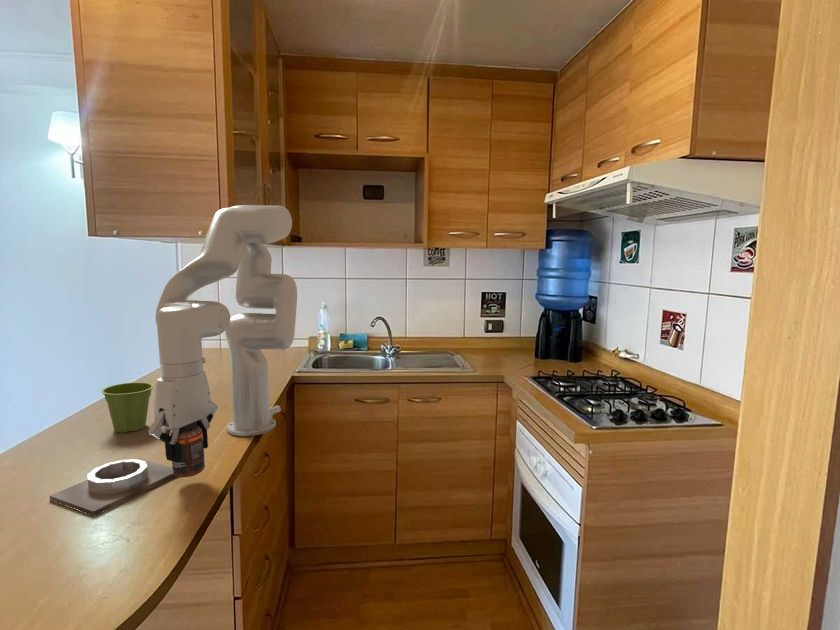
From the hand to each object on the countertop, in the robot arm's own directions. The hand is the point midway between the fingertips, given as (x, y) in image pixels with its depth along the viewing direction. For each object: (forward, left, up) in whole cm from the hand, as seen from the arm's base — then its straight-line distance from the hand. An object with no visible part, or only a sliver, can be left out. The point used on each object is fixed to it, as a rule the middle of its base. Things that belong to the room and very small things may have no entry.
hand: (187, 452), depth 95 cm
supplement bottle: (0, 0, -4) cm, 4 cm away
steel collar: (+7, -12, -7) cm, 15 cm away
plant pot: (-15, -40, -7) cm, 43 cm away
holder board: (+7, -12, -7) cm, 15 cm away
